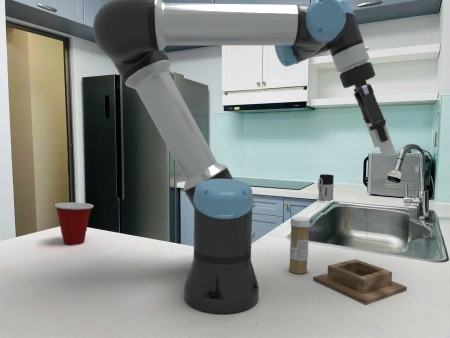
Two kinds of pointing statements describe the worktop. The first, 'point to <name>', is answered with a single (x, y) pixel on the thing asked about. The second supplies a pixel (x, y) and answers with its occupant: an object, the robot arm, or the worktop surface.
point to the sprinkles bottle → (299, 244)
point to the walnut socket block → (360, 281)
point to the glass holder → (326, 187)
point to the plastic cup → (73, 221)
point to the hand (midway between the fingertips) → (384, 149)
